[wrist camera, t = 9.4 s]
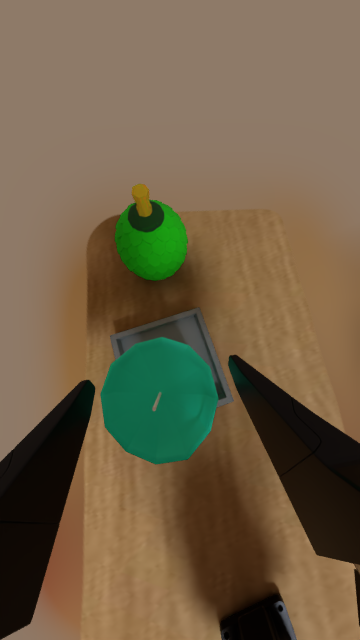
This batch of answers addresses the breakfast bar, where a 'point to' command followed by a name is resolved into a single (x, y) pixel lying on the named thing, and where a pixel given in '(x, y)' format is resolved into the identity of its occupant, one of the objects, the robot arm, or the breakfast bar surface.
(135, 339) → the tray
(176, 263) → the ornament
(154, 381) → the candle
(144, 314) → the breakfast bar surface
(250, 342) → the breakfast bar surface
